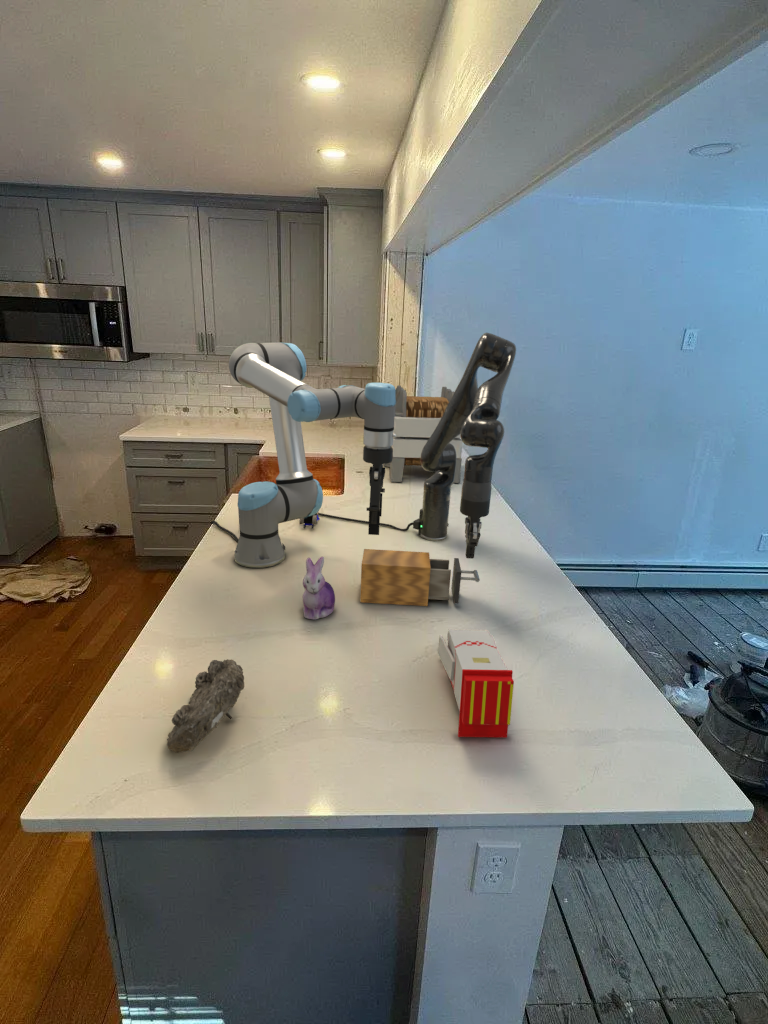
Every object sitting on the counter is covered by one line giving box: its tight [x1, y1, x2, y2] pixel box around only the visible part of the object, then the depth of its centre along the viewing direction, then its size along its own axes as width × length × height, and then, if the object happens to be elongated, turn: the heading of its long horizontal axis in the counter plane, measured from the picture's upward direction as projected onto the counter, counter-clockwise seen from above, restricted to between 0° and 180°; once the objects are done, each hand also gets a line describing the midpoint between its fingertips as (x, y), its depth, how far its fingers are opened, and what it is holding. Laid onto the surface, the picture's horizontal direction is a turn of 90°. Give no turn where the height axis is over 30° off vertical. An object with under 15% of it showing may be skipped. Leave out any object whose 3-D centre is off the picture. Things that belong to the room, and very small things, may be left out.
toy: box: [437, 628, 515, 738], centre depth 117 cm, size 12×13×30 cm
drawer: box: [428, 557, 481, 605], centre depth 155 cm, size 22×9×10 cm, turn 88°
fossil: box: [166, 658, 245, 754], centre depth 106 cm, size 22×10×15 cm
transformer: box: [383, 384, 464, 484], centre depth 268 cm, size 34×33×41 cm
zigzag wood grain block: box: [359, 548, 431, 607], centre depth 155 cm, size 18×10×11 cm, turn 88°
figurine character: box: [298, 511, 320, 530], centre depth 204 cm, size 7×8×15 cm
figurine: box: [302, 556, 336, 621], centre depth 144 cm, size 9×10×15 cm
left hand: (375, 524), depth 150 cm, fingers open, 13 cm apart
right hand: (469, 557), depth 152 cm, fingers closed
